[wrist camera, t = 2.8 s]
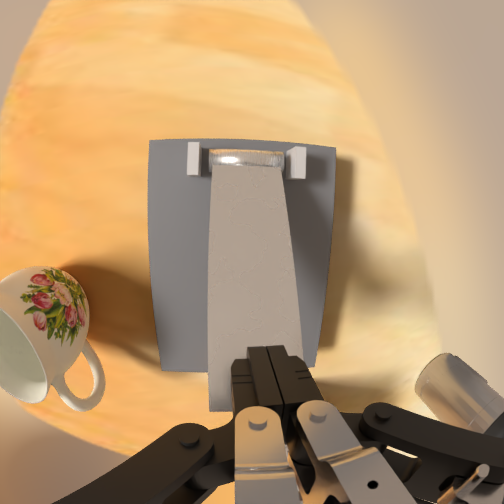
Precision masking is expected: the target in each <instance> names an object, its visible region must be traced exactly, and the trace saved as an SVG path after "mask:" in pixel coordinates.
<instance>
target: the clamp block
mask: <svg viewBox="0 0 504 504" xmlns="http://www.w3.org/2000/svg"><path fill="white" fill-rule="evenodd" d="M209 149H241V150H263V151H278V152H283V153H284V170H283V173H282V179H283V186H284V193H285V200H286V207H287V214H288V221H289V228H290V236H291V244H292V252H293V260H294V268H295V277H296V286H297V295H298V305H299V315H300V325H301V336H302V348H303V360H304V362H305V363H306V365H307V367H308V368H310V367H315V361H316V356H317V350H318V344H319V338H320V332H321V325H322V318H323V311H324V304H325V296H326V288H327V280H328V271H329V261H330V251H331V239H332V227H333V212H334V195H335V170H336V148H334V147H327V146H319V145H310V144H301V143H290V142H278V141H264V140H245V139H165V140H150V142H149V162H148V241H149V261H150V276H151V289H152V300H153V309H154V318H155V327H156V335H157V342H158V349H159V356H160V362H161V368H162V371H177V372H208V252H209V223H210V201H211V182H212V172H209Z"/></svg>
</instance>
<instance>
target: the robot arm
mask: <svg viewBox="0 0 504 504" xmlns="http://www.w3.org/2000/svg"><path fill="white" fill-rule="evenodd" d="M415 392H416V394H417V395H418V396H419V397H420V398H421V399H422V401H423V402H424V403H425V404H426V405H427V406H428V408H429V409H430V410H431V411H432V412H433V413H434V414H435V416H436V417H437V418H438V419H439V420H440V421H441V422H440V421H437V420H433V419H430V418H427V417H424V416H421V415H418V414H416V413H413V412H410V411H407V410H404V409H402V408H399V407H396V406H393V405H391V404H388V403H381V402H380V403H373V404H371V405H369V406H367V407H366V408H365V410H364V412H363V413H342V412H339V411H338V410H337V408H336V407H335V406H334V405H332V404H331V403H329V402H326V401H324V399H323V397H322V395H321V393H320V391H319V389H318V387H317V385H316V383H315V381H314V379H313V378H312V375H311V373H310V371H309V369H308V367H307V365H306V363H305V362H304V361H303V360H302V359H300V358H299V357H298V356H297V355H296V356H288V354H287V351H286V349H285V347H284V345H273V346H266V347H265V346H254V347H247V353H246V359H235V360H234V362H233V363H232V365H231V399H232V410H233V419H232V420H231V421H230V422H229V423H228V424H226V425H224V426H222V427H219V428H216V429H212V430H208V429H207V428H206V427H204V426H202V425H199V424H195V423H184V424H180V425H177V426H175V427H173V428H172V429H170V430H169V431H168V432H166V433H165V434H164V435H162V436H161V437H159V438H158V439H157V440H155V441H154V442H153V443H151V444H150V445H148V446H147V447H145V448H144V449H143V450H141V451H140V452H138V453H137V454H135V455H134V456H132V457H131V458H129V459H128V460H126V461H125V462H123V463H122V464H120V465H119V466H117V467H115V468H114V469H112V470H111V471H109V472H108V473H106V474H105V475H103V476H101V477H99V478H98V479H96V480H94V481H93V482H91V483H89V484H88V485H86V486H84V487H82V488H80V489H79V490H77V491H75V492H73V493H72V494H70V495H68V496H66V497H64V498H62V499H60V500H58V501H56V502H54V503H52V504H201V503H202V502H203V501H204V500H205V499H206V498H207V497H208V496H209V495H210V494H212V493H213V492H214V491H215V490H216V488H217V487H218V486H220V485H224V484H227V483H230V482H233V481H235V504H300V499H299V494H298V489H297V486H298V488H299V491H300V493H301V496H302V499H303V504H434V503H437V504H504V398H502V397H501V396H500V395H499V394H498V393H497V392H496V391H495V390H493V389H492V388H491V387H490V386H489V385H488V384H487V380H485V379H484V378H483V377H482V376H481V375H479V374H478V373H477V372H476V371H474V370H473V369H472V368H471V367H470V366H468V365H467V364H466V363H465V362H464V361H462V360H461V359H460V358H459V357H457V356H453V355H452V354H450V353H444V354H441V355H439V356H438V357H436V358H435V359H434V360H433V361H431V362H430V363H429V364H428V365H427V367H426V368H425V369H424V370H423V372H422V373H421V375H420V376H419V378H418V380H417V383H416V386H415ZM285 445H287V447H288V450H289V452H288V457H287V455H286V450H285ZM387 446H390V447H393V448H395V449H398V450H401V451H403V452H406V453H409V454H412V455H414V456H417V458H410V457H408V456H405V455H402V454H399V453H397V452H394V451H392V450H389V449H387V448H386V447H387ZM287 460H288V461H287ZM288 463H289V466H290V467H289V466H288ZM416 497H417V498H416ZM419 498H420V499H419ZM422 499H423V500H422ZM425 500H426V501H425ZM428 501H430V502H428ZM431 502H433V503H431Z"/></svg>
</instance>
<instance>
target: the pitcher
mask: <svg viewBox="0 0 504 504" xmlns="http://www.w3.org/2000/svg"><path fill="white" fill-rule="evenodd" d="M89 320H90V312H89V304H88V300H87V297H86V295H85V292H84V290H83V288H82V287H81V285H80V284H79V283H78V281H77V280H76V279H74V278H73V277H72V276H71V275H70V274H68V273H67V272H65V271H63V270H60V269H58V268H54V267H48V266H34V267H29V268H25V269H21V270H19V271H16V272H14V273H12V274H10V275H8V276H7V277H5V278H4V279H3V280H1V281H0V386H1V387H2V388H3V389H4V390H5V391H6V392H8V393H9V394H10V395H12V396H14V397H15V398H17V399H19V400H21V401H24V402H27V403H39V402H41V401H43V400H44V399H45V397H46V396H47V394H48V391H49V388H50V385H53V386H54V387H55V389H56V390H57V392H58V394H59V396H60V397H61V399H62V400H63V401H64V402H65V403H66V404H67V405H68V406H69V407H71V408H72V409H74V410H77V411H88V410H91V409H92V408H94V407H95V406H96V405H97V404H98V403H99V402H100V401H101V399H102V397H103V394H104V391H105V375H104V371H103V368H102V365H101V362H100V360H99V358H98V356H97V354H96V353H95V351H94V350H93V348H92V347H91V345H90V344H89V342H88V341H87V340H86V337H87V333H88V328H89ZM80 352H82V353H83V354H84V356H85V357H86V359H87V361H88V363H89V365H90V367H91V370H92V373H93V377H94V387H93V391H92V393H91V395H90V396H89V397H88V398H86V399H80V398H78V397H76V396H75V395H73V394H72V392H71V391H70V390H69V388H68V387H67V385H66V383H65V379H64V374H65V372H66V371H67V370H68V369H69V368H70V367H71V366H72V365H73V363H74V362H75V360H76V359H77V357H78V356H79V354H80Z"/></svg>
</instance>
